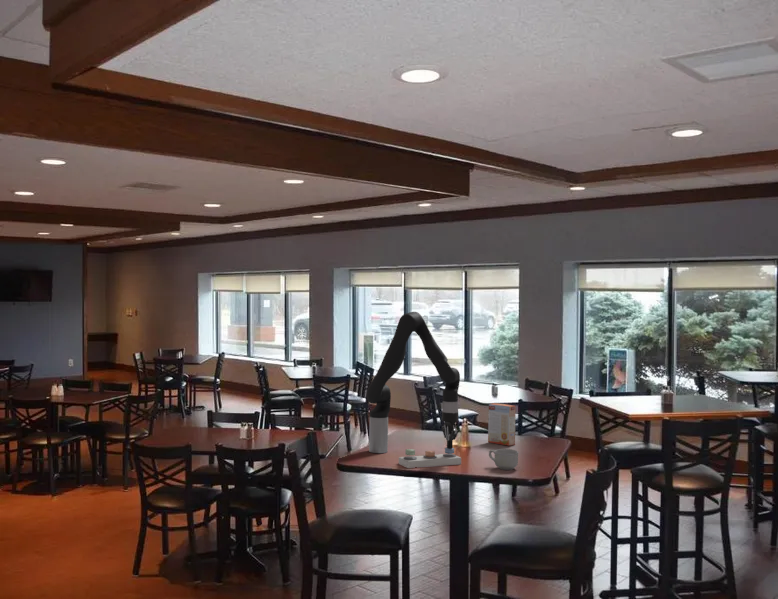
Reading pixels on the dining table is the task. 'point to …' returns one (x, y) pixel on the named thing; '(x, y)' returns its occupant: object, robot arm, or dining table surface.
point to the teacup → (505, 458)
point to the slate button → (449, 450)
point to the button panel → (429, 460)
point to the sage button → (410, 452)
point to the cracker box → (501, 424)
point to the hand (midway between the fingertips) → (449, 448)
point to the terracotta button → (430, 453)
